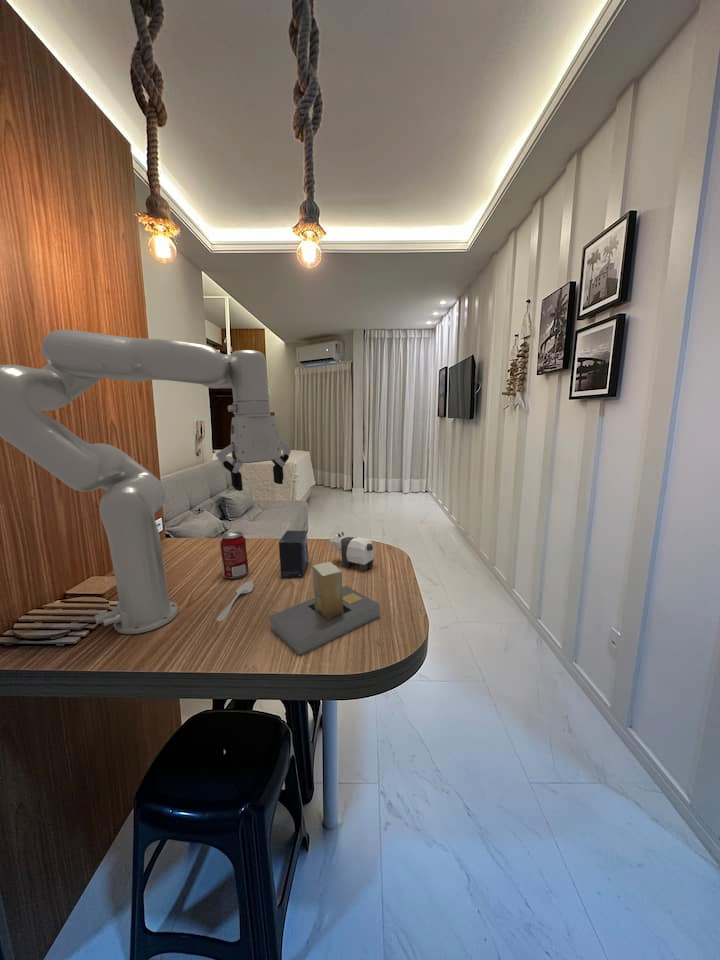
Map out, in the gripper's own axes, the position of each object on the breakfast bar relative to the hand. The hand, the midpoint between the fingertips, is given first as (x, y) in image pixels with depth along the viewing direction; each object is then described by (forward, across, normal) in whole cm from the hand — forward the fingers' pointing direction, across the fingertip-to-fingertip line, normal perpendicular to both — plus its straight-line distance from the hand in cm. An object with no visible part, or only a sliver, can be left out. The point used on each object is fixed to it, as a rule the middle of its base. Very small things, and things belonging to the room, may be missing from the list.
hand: (259, 486), depth 86 cm
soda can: (+28, 0, +21) cm, 35 cm away
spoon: (+29, -7, +5) cm, 30 cm away
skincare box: (+28, +6, -17) cm, 34 cm away
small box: (+29, +14, +12) cm, 34 cm away
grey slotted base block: (+28, +5, -17) cm, 33 cm away
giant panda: (+29, +28, +3) cm, 40 cm away
